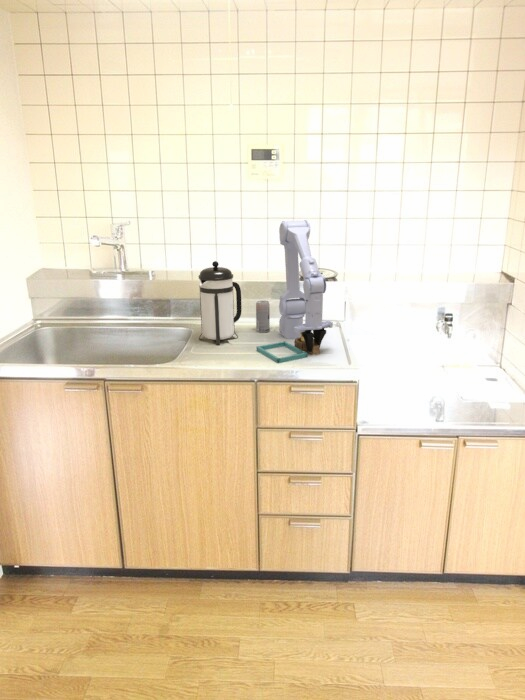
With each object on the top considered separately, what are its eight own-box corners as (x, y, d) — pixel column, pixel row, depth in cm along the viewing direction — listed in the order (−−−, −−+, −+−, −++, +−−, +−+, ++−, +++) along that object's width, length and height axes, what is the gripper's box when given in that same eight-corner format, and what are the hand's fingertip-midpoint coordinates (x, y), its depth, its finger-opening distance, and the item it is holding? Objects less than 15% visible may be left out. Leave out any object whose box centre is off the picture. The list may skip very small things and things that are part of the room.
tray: (256, 353, 182) (256, 346, 181) (284, 347, 187) (284, 341, 186) (277, 366, 169) (277, 359, 169) (307, 359, 175) (307, 353, 174)
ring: (290, 347, 185) (290, 339, 184) (307, 343, 188) (307, 336, 187) (307, 355, 175) (308, 347, 175) (324, 352, 179) (324, 344, 178)
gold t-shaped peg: (298, 347, 184) (298, 331, 182) (306, 346, 185) (306, 330, 183) (302, 349, 182) (302, 333, 180) (310, 348, 183) (310, 332, 181)
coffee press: (239, 345, 190) (237, 264, 181) (196, 345, 191) (191, 264, 181) (242, 331, 207) (240, 256, 197) (202, 332, 207) (198, 257, 197)
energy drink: (270, 329, 210) (269, 300, 206) (269, 333, 205) (268, 303, 201) (257, 329, 210) (256, 300, 206) (255, 332, 205) (255, 303, 201)
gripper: (302, 317, 167) (301, 356, 172) (338, 311, 174) (337, 349, 178) (290, 312, 173) (290, 351, 178) (326, 307, 180) (325, 344, 184)
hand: (313, 350), depth 178 cm, fingers closed on ring, 2 cm apart
